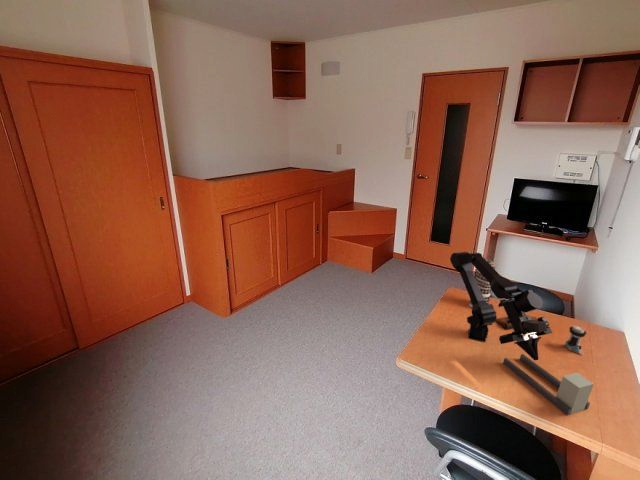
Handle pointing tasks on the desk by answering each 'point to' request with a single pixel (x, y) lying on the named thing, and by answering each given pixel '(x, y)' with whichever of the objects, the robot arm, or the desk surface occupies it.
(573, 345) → the push button
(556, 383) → the steel chute
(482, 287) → the decorative candle
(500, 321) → the sunglasses case
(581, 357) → the desk surface
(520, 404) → the desk surface
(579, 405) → the block
